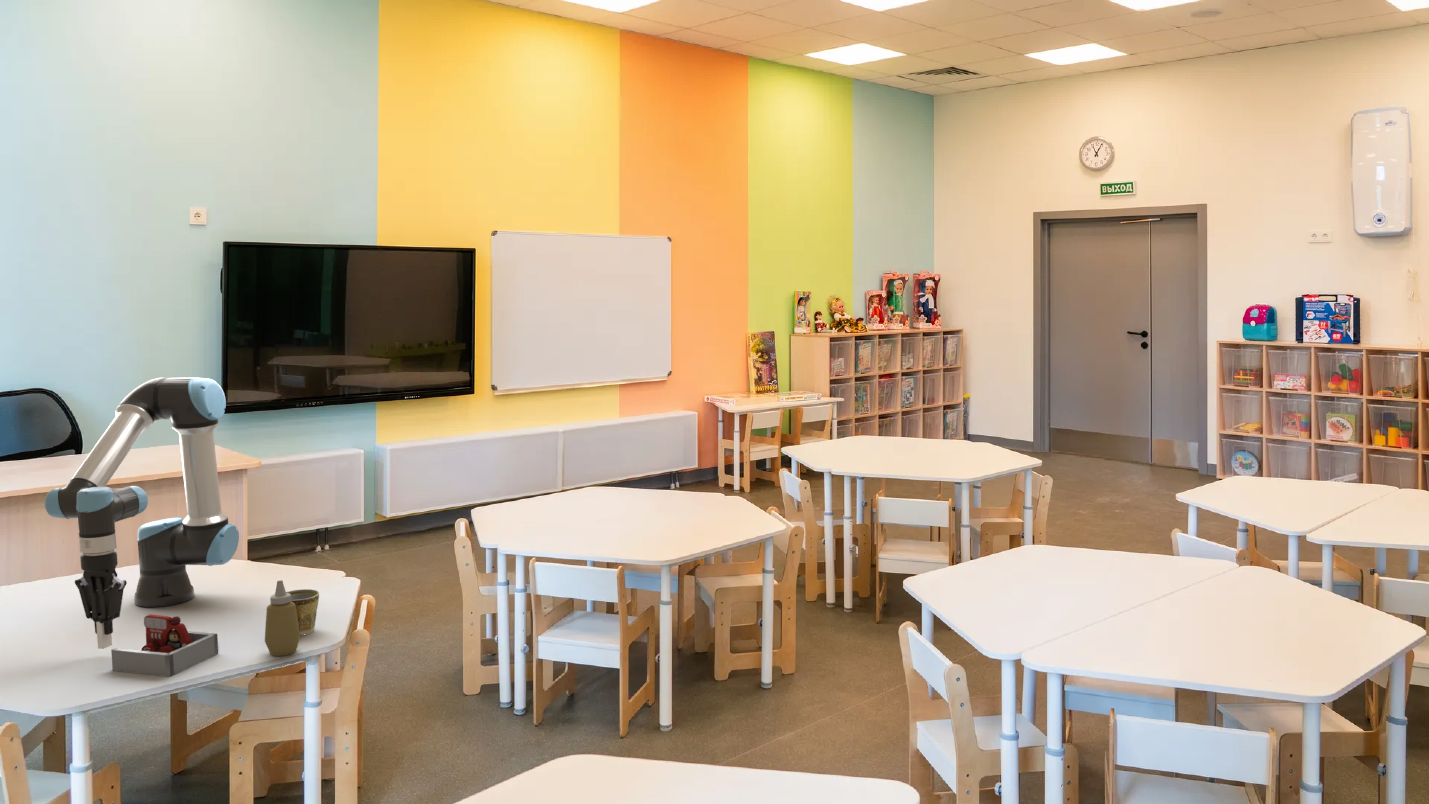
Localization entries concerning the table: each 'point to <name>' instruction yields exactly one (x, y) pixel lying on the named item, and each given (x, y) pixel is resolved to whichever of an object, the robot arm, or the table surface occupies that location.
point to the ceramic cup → (305, 608)
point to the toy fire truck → (165, 634)
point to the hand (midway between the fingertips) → (105, 646)
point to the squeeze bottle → (281, 623)
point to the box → (166, 657)
